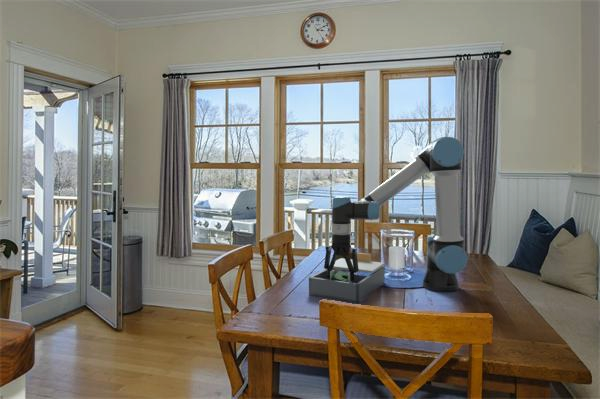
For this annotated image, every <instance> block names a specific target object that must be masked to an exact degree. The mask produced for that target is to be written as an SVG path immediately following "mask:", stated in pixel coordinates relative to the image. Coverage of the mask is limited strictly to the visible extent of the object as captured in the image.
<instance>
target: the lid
mask: <svg viewBox="0 0 600 399" xmlns="http://www.w3.org/2000/svg"><path fill="white" fill-rule="evenodd" d="M350 260H351V262H352V265H353V261H352V259H350ZM357 261H358V269H359V271H358V272H359V273H367V274H372V273H374V272H375V271H377V270H378V269H380V268H381V267H385V262H381V261H380V262H379V261H372V253H365V252H364V253H363V252H357ZM329 265H330V263H329ZM333 269H342V270H343V271H349V269H348V266H347V263H346V261H345V259H343V258H340V259H338V260H336V262H335V264H334V267H333ZM358 272H357V273H358Z"/></svg>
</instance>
